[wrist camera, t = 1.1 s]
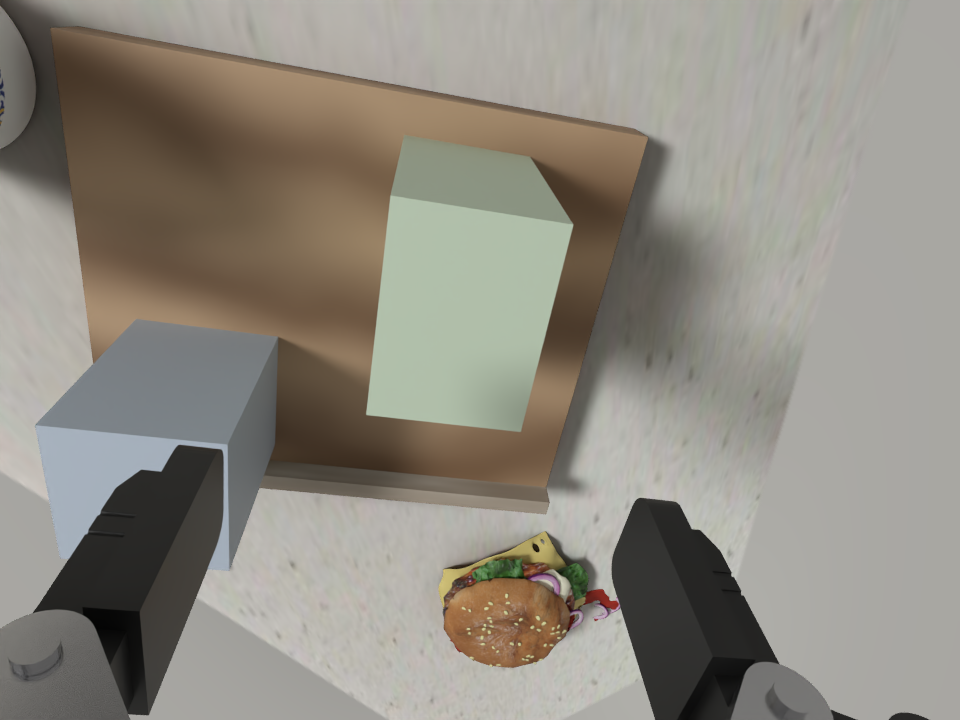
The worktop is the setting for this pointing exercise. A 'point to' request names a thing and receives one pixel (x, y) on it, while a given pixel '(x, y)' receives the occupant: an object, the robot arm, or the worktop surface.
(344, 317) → the wooden slab
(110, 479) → the box
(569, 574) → the hamburger
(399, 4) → the worktop surface
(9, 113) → the bath foam
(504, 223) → the tea box
